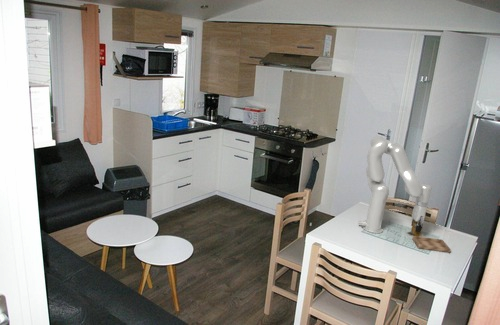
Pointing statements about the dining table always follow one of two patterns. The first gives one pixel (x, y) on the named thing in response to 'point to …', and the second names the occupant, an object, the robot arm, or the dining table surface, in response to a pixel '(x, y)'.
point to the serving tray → (431, 244)
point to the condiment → (413, 232)
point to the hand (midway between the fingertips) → (415, 228)
